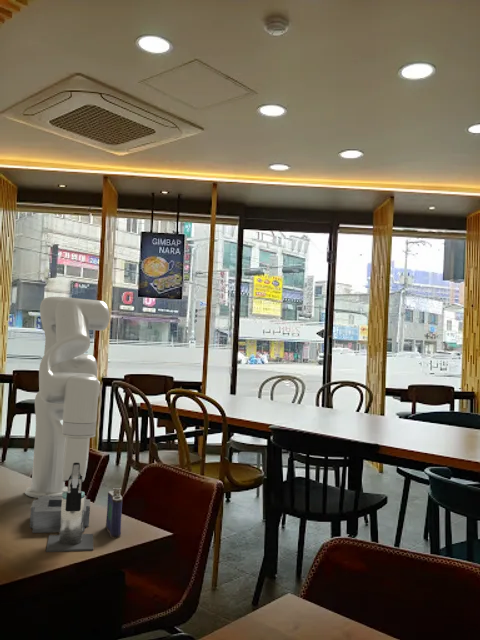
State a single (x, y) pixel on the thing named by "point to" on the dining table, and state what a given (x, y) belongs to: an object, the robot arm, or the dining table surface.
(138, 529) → the dining table surface
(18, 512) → the dining table surface
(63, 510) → the light piece
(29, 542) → the dining table surface
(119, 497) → the flask
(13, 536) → the dining table surface
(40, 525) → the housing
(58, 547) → the mat
